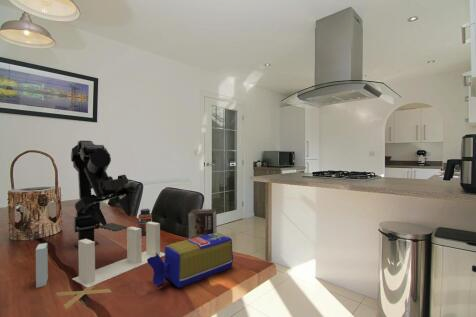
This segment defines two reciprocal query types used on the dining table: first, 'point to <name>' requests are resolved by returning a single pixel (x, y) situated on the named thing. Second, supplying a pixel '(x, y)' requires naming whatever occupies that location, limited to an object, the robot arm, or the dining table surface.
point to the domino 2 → (86, 260)
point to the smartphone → (113, 227)
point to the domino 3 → (134, 245)
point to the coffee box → (202, 222)
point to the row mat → (115, 269)
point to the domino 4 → (152, 238)
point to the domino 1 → (41, 265)
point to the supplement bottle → (144, 220)
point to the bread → (193, 259)
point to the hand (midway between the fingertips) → (118, 220)
